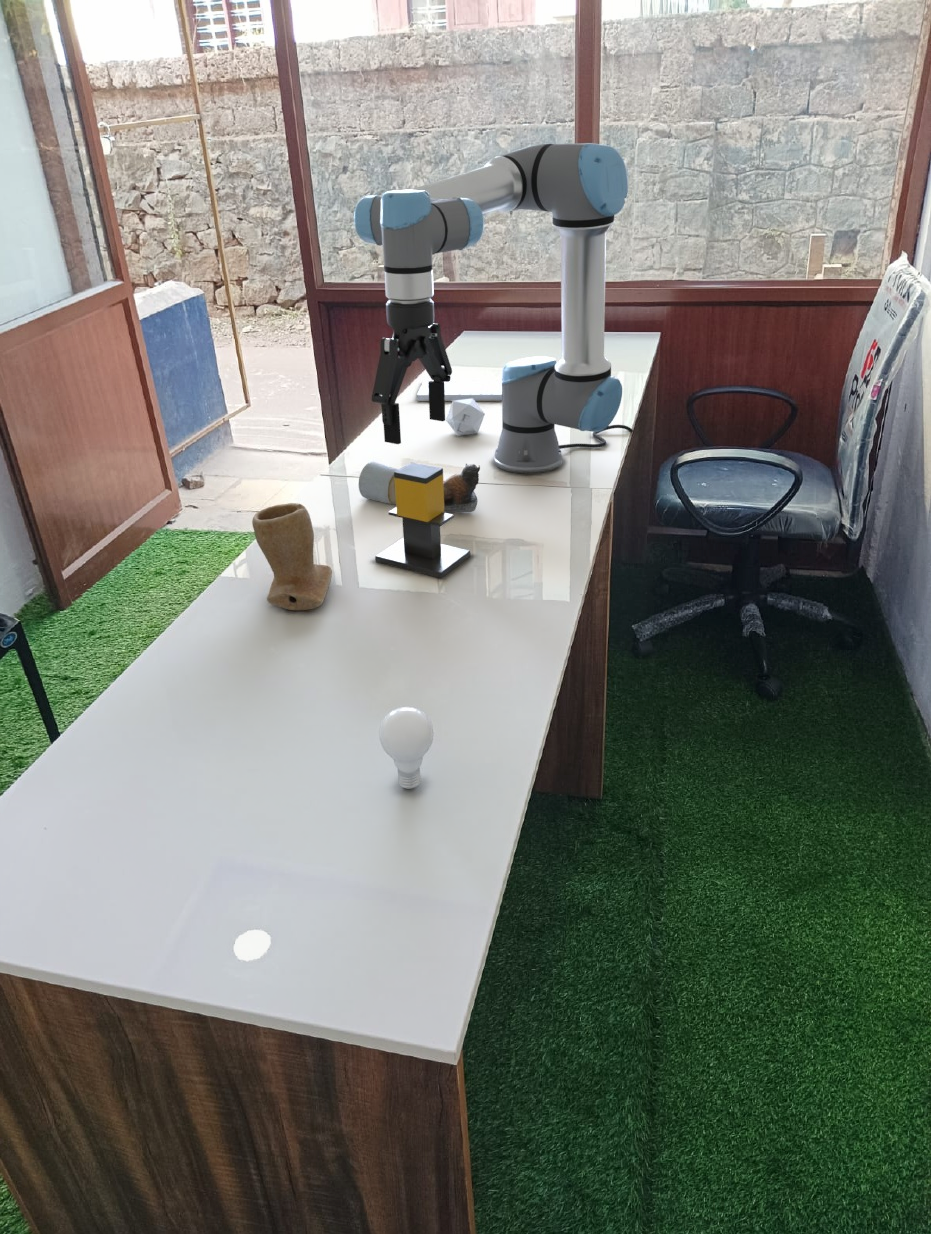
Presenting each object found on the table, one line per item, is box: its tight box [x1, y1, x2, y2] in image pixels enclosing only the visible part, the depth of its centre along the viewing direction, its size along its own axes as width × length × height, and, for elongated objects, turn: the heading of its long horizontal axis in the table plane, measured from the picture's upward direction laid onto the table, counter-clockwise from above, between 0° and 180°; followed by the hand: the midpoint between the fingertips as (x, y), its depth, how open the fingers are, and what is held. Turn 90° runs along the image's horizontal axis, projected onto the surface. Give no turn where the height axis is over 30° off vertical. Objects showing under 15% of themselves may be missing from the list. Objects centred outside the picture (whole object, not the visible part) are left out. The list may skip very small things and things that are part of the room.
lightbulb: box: [378, 706, 434, 790], centre depth 108 cm, size 6×6×11 cm
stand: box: [374, 507, 471, 579], centre depth 163 cm, size 10×14×9 cm
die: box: [445, 398, 486, 437], centre depth 225 cm, size 8×9×10 cm
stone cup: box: [251, 502, 333, 612], centre depth 152 cm, size 15×12×15 cm
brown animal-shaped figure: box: [443, 463, 481, 513], centre depth 182 cm, size 12×7×10 cm, turn 72°
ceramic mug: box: [358, 461, 399, 505], centre depth 189 cm, size 11×8×8 cm
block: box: [394, 462, 445, 522], centre depth 159 cm, size 6×6×8 cm
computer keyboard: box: [416, 380, 502, 402], centre depth 258 cm, size 43×19×2 cm, turn 85°
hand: (415, 431), depth 154 cm, fingers open, 13 cm apart
